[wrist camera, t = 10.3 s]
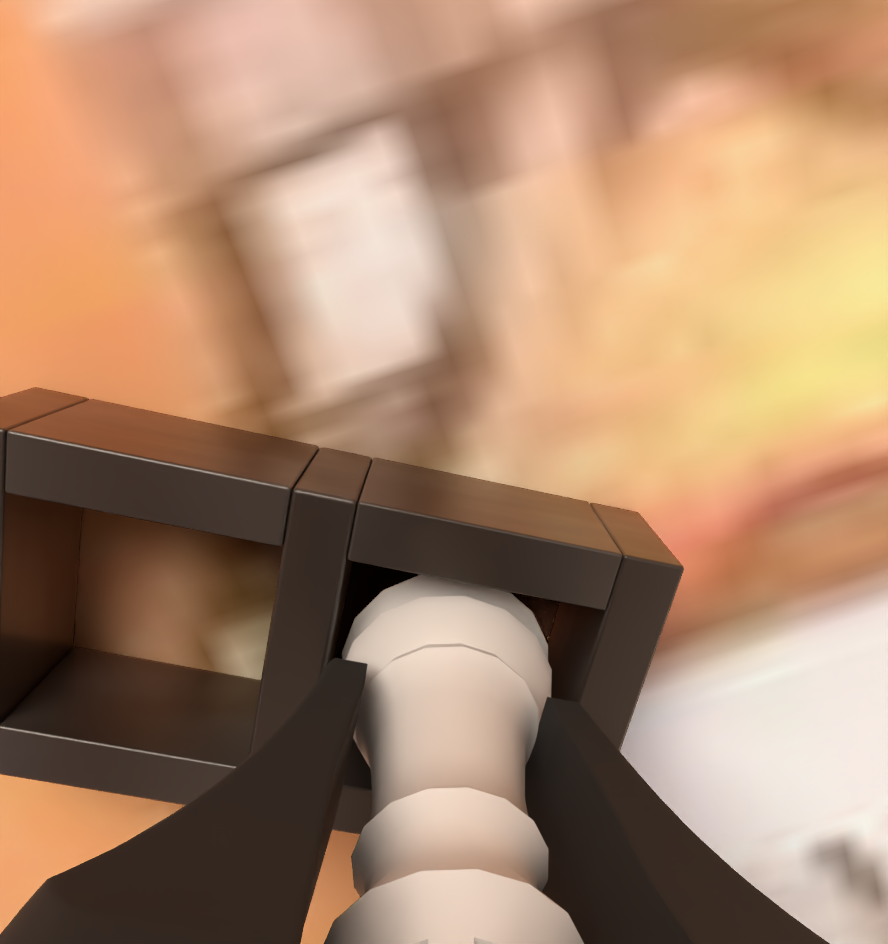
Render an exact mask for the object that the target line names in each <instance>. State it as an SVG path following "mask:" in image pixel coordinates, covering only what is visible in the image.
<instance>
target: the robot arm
mask: <svg viewBox="0 0 888 944" xmlns="http://www.w3.org/2000/svg"><path fill="white" fill-rule="evenodd" d="M367 665H368V664H367V663H361V662H356V661H350V660H345V659H339V658H334V659H333V660H331V661H329V662H328V664H327V666H326V668H325V670H324V671H323V673H322V674H321V676H320V678H319V679H318V680H317V682H316V683H315V685H314V686H313V687H312V689H311V690H310V691H309V693H308V694H307V695H306V696H305V698H304V699H303V700H302V701H301V702H300V704H299V705H298V706H297V707H296V708H295V709H294V711H293V712H292V713H291V714H290V715H289V716H288V718H287V719H286V720H285V721H284V722H283V723H282V724H281V725H280V726H279V727H278V728H277V729H276V730H275V731H274V732H273V733H272V734H271V735H270V736H269V737H268V738H267V739H266V740H265V741H264V742H263V743H262V744H261V745H260V746H259V747H258V748H257V749H256V750H255V751H254V752H253V753H252V754H251V755H249V756H248V757H247V758H246V759H245V760H244V761H243V762H242V763H240V764H239V765H238V766H237V767H236V768H235V769H233V770H232V771H231V772H230V773H228V774H227V775H226V776H225V777H224V778H222V779H221V780H220V781H219V782H217V783H216V784H215V785H213V786H212V787H210V788H209V789H208V790H206V791H205V792H204V793H202V794H201V795H200V796H198V797H197V798H195V799H194V800H193V801H191V802H190V803H188V804H187V805H186V806H184V807H183V808H181V809H180V810H178V811H177V812H175V813H174V814H172V815H170V816H169V817H167V818H165V819H164V820H162V821H160V822H159V823H157V824H155V825H154V826H152V827H150V828H149V829H147V830H145V831H144V832H142V833H140V834H138V835H137V836H135V837H133V838H132V839H130V840H128V841H127V842H125V843H123V844H121V845H119V846H117V847H116V848H114V849H112V850H110V851H108V852H105V853H103V854H101V855H99V856H97V857H95V858H93V859H91V860H88V861H86V862H84V863H82V864H80V865H78V866H76V867H73V868H71V869H69V870H67V871H65V872H63V873H60V874H58V875H55V876H53V877H51V878H49V879H47V880H46V881H45V883H44V884H43V885H42V886H41V887H40V888H39V889H38V890H37V891H36V892H35V894H34V895H33V896H32V897H31V898H30V899H29V901H28V902H27V903H26V904H25V905H24V906H23V907H22V909H21V910H20V911H19V912H18V913H17V915H16V916H15V917H14V918H13V920H12V921H11V922H10V923H9V925H8V926H7V927H6V928H5V929H4V930H3V932H2V933H1V934H0V944H300V942H301V937H302V932H303V927H304V923H305V920H306V917H307V913H308V910H309V906H310V903H311V899H312V896H313V893H314V889H315V886H316V882H317V879H318V875H319V872H320V868H321V865H322V862H323V858H324V855H325V851H326V848H327V844H328V841H329V838H330V834H331V831H332V827H333V824H334V820H335V817H336V813H337V810H338V806H339V802H340V797H341V792H342V788H343V783H344V778H345V774H346V769H347V764H348V760H349V755H350V750H351V746H352V741H353V736H354V732H355V727H356V722H357V718H358V713H359V708H360V704H361V699H362V694H363V690H364V685H365V679H366V672H367ZM525 801H526V807H527V813H528V817H530V818H531V819H532V820H534V822H535V824H536V826H537V828H538V830H539V832H540V834H541V836H542V838H543V840H544V842H545V844H546V846H547V847H548V881H547V883H546V885H545V887H544V888H543V890H542V893H543V894H545V895H546V896H547V897H549V898H550V899H551V900H552V901H554V902H555V903H556V904H557V905H559V906H560V907H561V908H562V909H564V910H565V911H566V912H567V913H568V914H569V916H570V918H571V920H572V922H573V924H574V925H575V927H576V929H577V931H578V933H579V935H580V937H581V939H582V941H583V943H584V944H830V943H828V942H827V941H825V940H824V939H822V938H821V937H819V936H818V935H816V934H815V933H814V932H812V931H811V930H810V929H808V928H807V927H806V926H804V925H803V924H801V923H800V922H799V921H797V920H796V919H795V918H793V917H792V916H791V915H789V914H788V913H787V912H785V911H784V910H783V909H782V908H780V907H779V906H778V905H777V904H775V903H774V902H773V901H771V900H770V899H769V898H768V897H766V896H765V895H764V894H763V893H761V892H760V891H759V890H758V889H756V888H755V887H754V886H753V885H751V884H750V883H749V882H748V881H747V880H745V879H744V878H743V877H742V876H741V875H739V874H738V873H737V872H736V871H735V870H734V869H732V868H731V867H730V866H729V865H728V864H727V863H726V862H725V861H724V860H722V859H721V858H720V857H719V856H718V855H717V854H716V853H715V852H714V851H713V850H712V849H710V848H709V847H708V846H707V845H706V844H705V843H704V842H703V841H702V840H701V839H700V838H699V837H697V836H696V835H695V834H694V833H693V832H692V831H691V830H690V829H689V828H688V827H687V826H686V825H685V824H684V823H683V822H682V821H681V820H680V819H679V817H678V816H677V815H676V814H675V813H674V812H673V811H672V810H671V809H670V808H669V807H668V806H667V805H666V804H665V803H664V802H663V801H662V800H661V799H660V798H659V796H658V795H657V794H656V793H655V792H654V791H653V790H652V789H651V788H650V786H649V785H648V784H647V783H646V782H645V781H644V780H643V779H642V777H641V776H640V775H639V774H638V773H637V772H636V771H635V769H634V768H633V767H632V766H631V765H630V763H629V762H628V761H627V760H626V759H625V758H624V756H623V755H622V754H621V753H620V752H619V750H618V749H617V748H616V747H615V746H614V744H613V743H612V742H611V741H610V739H609V738H608V737H607V736H606V735H605V733H604V732H603V731H602V730H601V728H600V727H599V726H598V725H597V724H596V722H595V721H594V720H593V719H592V718H591V716H590V715H589V714H588V713H587V712H586V711H585V709H584V708H583V707H582V706H581V705H580V704H579V703H578V702H573V701H567V700H562V699H556V698H551V697H547V699H546V702H545V706H544V709H543V712H542V715H541V719H540V722H539V725H538V732H537V737H536V741H535V744H534V747H533V749H532V752H531V755H530V757H529V759H528V761H527V764H526V768H525Z"/></svg>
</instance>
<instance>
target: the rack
mask: <svg viewBox="0 0 888 944" xmlns="http://www.w3.org/2000/svg"><path fill="white" fill-rule="evenodd" d="M82 508H86V509H91V510H96V511H101V512H106V513H111V514H116V515H122V516H127V517H132V518H137V519H142V520H147V521H152V522H157V523H162V524H167V525H173V526H178V527H183V528H188V529H193V530H198V531H203V532H208V533H213V534H218V535H224V536H229V537H234V538H239V539H244V540H249V541H254V542H259V543H264V544H269V545H275V546H282V544H283V549H282V555H281V562H280V568H279V574H278V580H277V586H276V592H275V599H274V605H273V611H272V617H271V623H270V629H269V636H268V642H267V648H266V654H265V660H264V666H263V673H262V679H261V680H255V679H250V678H244V677H239V676H233V675H228V674H222V673H217V672H211V671H206V670H200V669H195V668H189V667H184V666H178V665H173V664H167V663H162V662H156V661H151V660H145V659H140V658H134V657H129V656H123V655H118V654H112V653H107V652H101V651H96V650H90V649H85V648H79V647H74V648H73V635H74V620H75V605H76V590H77V576H78V561H79V546H80V531H81V516H82ZM353 561H355V562H360V563H365V564H370V565H376V566H381V567H386V568H391V569H396V570H401V571H406V572H411V573H416V574H421V575H427V576H432V577H437V578H442V579H447V580H452V581H457V582H462V583H467V584H472V585H478V586H483V587H488V588H493V589H498V590H503V591H508V592H513V593H518V594H523V595H529V596H534V597H539V598H544V599H549V600H554V601H559V602H560V604H559V607H558V611H557V614H556V617H555V621H554V624H553V627H552V631H551V634H550V637H549V641H548V663H549V665H550V667H551V669H552V683H551V698H556V699H562V700H567V701H573V702H578V703H579V704H580V705H581V706H582V707H583V708H584V709H585V711H586V712H587V713H588V714H589V715H590V716H591V718H592V719H593V720H594V721H595V722H596V724H597V725H598V726H599V727H600V728H601V730H602V731H603V732H604V733H605V735H606V736H607V737H608V738H609V739H610V741H611V742H612V743H613V744H614V746H615V747H616V748H617V749H618V750H619V752H620V749H621V746H622V743H623V740H624V738H625V735H626V732H627V729H628V726H629V723H630V721H631V718H632V715H633V712H634V709H635V706H636V704H637V701H638V698H639V695H640V692H641V689H642V687H643V684H644V681H645V678H646V675H647V672H648V670H649V667H650V664H651V661H652V658H653V655H654V653H655V650H656V647H657V644H658V641H659V638H660V635H661V633H662V630H663V627H664V624H665V621H666V618H667V616H668V613H669V610H670V607H671V604H672V601H673V599H674V596H675V593H676V590H677V587H678V584H679V582H680V579H681V576H682V573H683V570H684V568H683V566H682V565H681V563H680V562H679V561H678V560H677V559H676V557H675V556H674V555H673V554H672V552H671V551H670V550H669V549H668V548H667V546H666V545H665V544H664V543H663V542H662V540H661V539H660V538H659V537H658V536H657V534H656V533H655V532H654V531H653V529H652V528H651V527H650V526H649V525H648V523H647V522H646V521H645V520H644V519H643V517H642V516H641V515H640V514H639V513H638V512H634V511H629V510H624V509H619V508H615V507H610V506H605V505H600V504H595V503H590V504H589V503H588V502H586V501H581V500H577V499H572V498H567V497H562V496H557V495H552V494H548V493H543V492H538V491H533V490H528V489H524V488H519V487H514V486H509V485H504V484H499V483H495V482H490V481H485V480H480V479H475V478H471V477H466V476H461V475H456V474H451V473H446V472H442V471H437V470H432V469H427V468H422V467H418V466H413V465H408V464H403V463H398V462H393V461H389V460H384V459H379V458H374V459H373V460H372V459H371V458H370V457H367V456H362V455H358V454H353V453H348V452H343V451H338V450H333V449H329V448H320V449H319V448H318V446H316V445H311V444H306V443H301V442H297V441H292V440H287V439H282V438H277V437H273V436H268V435H263V434H258V433H253V432H248V431H244V430H239V429H234V428H229V427H224V426H220V425H215V424H210V423H205V422H200V421H195V420H191V419H186V418H181V417H176V416H171V415H167V414H162V413H157V412H152V411H147V410H142V409H138V408H133V407H128V406H123V405H118V404H114V403H109V402H104V401H99V400H94V399H91V400H89V399H87V398H85V397H80V396H75V395H70V394H65V393H60V392H56V391H51V390H46V389H41V388H36V387H35V388H31V389H28V390H24V391H21V392H17V393H14V394H11V395H7V396H4V397H0V774H2V775H8V776H14V777H20V778H26V779H32V780H38V781H44V782H50V783H56V784H62V785H68V786H74V787H80V788H86V789H92V790H98V791H104V792H110V793H116V794H122V795H128V796H134V797H140V798H146V799H152V800H158V801H164V802H170V803H176V804H182V805H187V804H188V803H190V802H191V801H193V800H194V799H195V798H197V797H198V796H200V795H201V794H202V793H204V792H205V791H206V790H208V789H209V788H210V787H212V786H213V785H215V784H216V783H217V782H219V781H220V780H221V779H222V778H224V777H225V776H226V775H227V774H228V773H230V772H231V771H232V770H233V769H235V768H236V767H237V766H238V765H239V764H240V763H242V762H243V761H244V760H245V759H246V758H247V757H248V756H249V755H251V754H252V753H253V752H254V751H255V750H256V749H257V748H258V747H259V746H260V745H261V744H262V743H263V742H264V741H265V740H266V739H267V738H268V737H269V736H270V735H271V734H272V733H273V732H274V731H275V730H276V729H277V728H278V727H279V726H280V725H281V724H282V723H283V722H284V721H285V720H286V719H287V718H288V716H289V715H290V714H291V713H292V712H293V711H294V709H295V708H296V707H297V706H298V705H299V704H300V702H301V701H302V700H303V699H304V698H305V696H306V695H307V694H308V693H309V691H310V690H311V689H312V687H313V686H314V685H315V683H316V682H317V680H318V679H319V678H320V676H321V674H322V673H323V671H324V670H325V668H326V666H327V664H328V662H329V661H331V660H333V659H334V654H335V649H336V643H337V638H338V633H339V628H340V623H341V618H342V613H343V608H344V603H345V598H346V592H347V587H348V582H349V577H350V572H351V567H352V562H353ZM526 764H527V763H526ZM525 768H526V765H525ZM371 811H372V785H371V769H370V767H369V765H368V764H367V762H366V760H365V759H364V757H363V755H362V754H361V752H360V750H359V748H358V747H357V744H356V742H355V740H354V739H353V741H352V746H351V750H350V755H349V760H348V764H347V769H346V774H345V778H344V783H343V788H342V792H341V797H340V802H339V806H338V810H337V813H336V817H335V820H334V824H333V827H332V830H336V831H342V832H348V833H354V834H360V835H361V832H362V830H363V828H364V826H365V825H366V824H367V823H368V822H369V821H370V819H371Z"/></svg>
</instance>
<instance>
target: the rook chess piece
mask: <svg viewBox="0 0 888 944" xmlns="http://www.w3.org/2000/svg"><path fill="white" fill-rule="evenodd" d="M342 659H345V660H350V661H356V662H361V663H367V664H368V665H367V672H366V679H365V685H364V690H363V694H362V699H361V704H360V708H359V713H358V718H357V722H356V727H355V732H354V736H353V739H354V740H355V742H356V744H357V747H358V748H359V750H360V752H361V754H362V755H363V757H364V759H365V760H366V762H367V764H368V765H369V767H370V769H371V785H372V811H371V819H370V821H369V822H368V823H367V824H366V825H365V826H364V828H363V830H362V832H361V835H360V837H359V839H358V842H357V844H356V846H355V849H354V851H353V853H352V856H351V858H352V869H353V880H354V887H355V889H356V891H357V892H358V894H359V895H360V898H359V899H358V900H357V901H356V902H355V903H354V904H352V905H351V906H350V907H349V908H348V909H347V910H346V911H344V912H343V913H342V914H341V915H340V916H339V917H338V918H337V919H335V920H334V922H333V924H332V926H331V928H330V931H329V933H328V935H327V938H326V940H325V942H324V944H584V943H583V941H582V939H581V937H580V935H579V933H578V931H577V929H576V927H575V925H574V924H573V922H572V920H571V918H570V916H569V914H568V913H567V912H566V911H565V910H564V909H562V908H561V907H560V906H559V905H557V904H556V903H555V902H554V901H552V900H551V899H550V898H549V897H547V896H546V895H545V894H543V893H542V890H543V888H544V887H545V885H546V883H547V881H548V847H547V846H546V844H545V842H544V840H543V838H542V836H541V834H540V832H539V830H538V828H537V826H536V824H535V822H534V820H532V819H531V818H530V817H528V813H527V807H526V801H525V765H526V763H527V761H528V759H529V757H530V755H531V752H532V749H533V747H534V744H535V741H536V737H537V732H538V725H539V722H540V719H541V715H542V712H543V709H544V706H545V702H546V699H547V697H551V683H552V669H551V667H550V665H549V663H548V644H547V642H546V640H545V638H544V635H543V633H542V631H541V629H540V627H539V625H538V622H537V620H536V618H535V616H534V614H533V612H532V611H531V610H530V609H529V608H527V607H526V606H525V605H524V604H523V603H522V602H521V601H519V600H518V599H517V598H516V597H515V596H514V595H513V594H511V593H510V592H508V591H503V590H498V589H493V588H488V587H483V586H478V585H472V584H467V583H462V582H457V581H452V580H447V579H442V578H437V577H432V576H427V575H421V574H420V575H418V576H416V577H413V578H411V579H409V580H406V581H404V582H401V583H399V584H397V585H394V586H392V587H389V588H387V589H385V590H383V591H382V592H381V593H380V594H379V595H378V596H377V597H376V598H375V599H374V600H373V601H372V602H371V603H370V604H369V605H368V606H367V607H366V608H365V609H364V610H363V611H362V612H361V613H360V614H359V615H357V616H356V617H355V619H354V622H353V624H352V627H351V630H350V632H349V635H348V638H347V640H346V643H345V646H344V648H343V651H342Z"/></svg>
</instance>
